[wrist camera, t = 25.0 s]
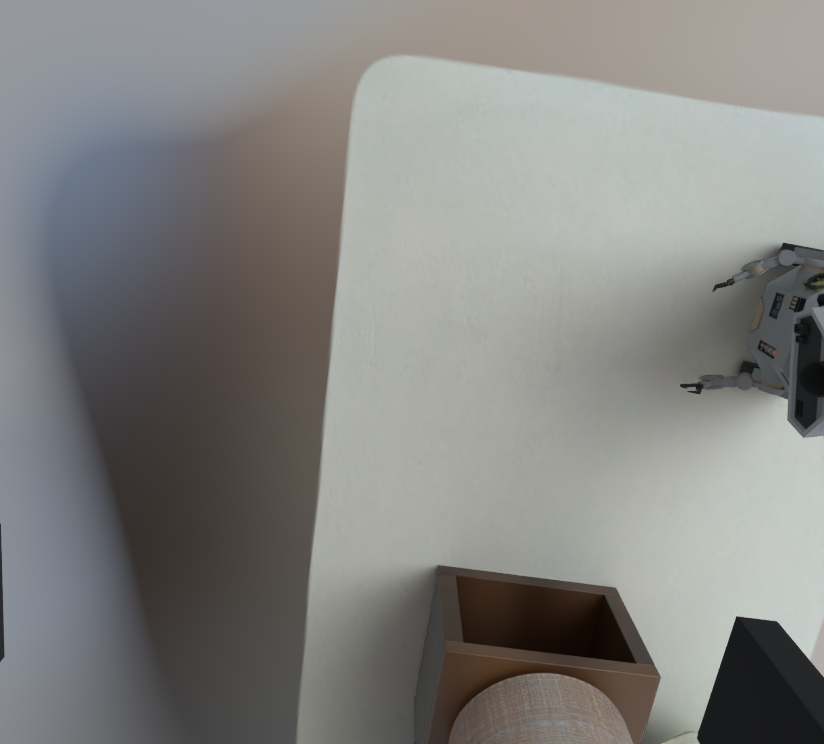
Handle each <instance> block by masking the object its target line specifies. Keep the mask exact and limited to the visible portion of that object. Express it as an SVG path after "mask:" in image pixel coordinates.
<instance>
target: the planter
mask: <svg viewBox="0 0 824 744" xmlns="http://www.w3.org/2000/svg"><path fill="white" fill-rule="evenodd" d="M449 744H633V742H632V739H631V736H630V734H629V731H628V728H627V726H626V723H625V721H624V719H623V718H622V716H621V714H620V712H619V711H618V709H617V708H616V706H615V705H614V704H613V702H612V701H611V700H610V699H609V698H608V697H607V696H606V695H605V694H604V693H603V692H601V691H600V690H599V689H597V688H596V687H594V686H593V685H591V684H589V683H587V682H585V681H583V680H581V679H578V678H575V677H572V676H568V675H563V674H558V673H547V672H539V673H527V674H521V675H517V676H513V677H509V678H506V679H503V680H501V681H498V682H496V683H494V684H492V685H490V686H489V687H487V688H485V689H484V690H482V691H481V692H479V693H478V694H477V695H475V696H474V697H473V698H472V699H471V700H470V701H469V702H468V703H467V704H466V705H465V706H464V708H463V709H462V710H461V711H460V713H459V714H458V716H457V718H456V720H455V722H454V724H453V726H452V729H451V732H450V736H449Z"/></svg>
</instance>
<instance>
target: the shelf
mask: <svg viewBox="0 0 824 744" xmlns="http://www.w3.org/2000/svg"><path fill="white" fill-rule="evenodd" d="M539 672H547V673H558V674H563V675H568V676H572V677H575V678H578V679H581V680H583V681H585V682H587V683H589V684H591V685H593V686H594V687H596V688H597V689H599V690H600V691H601V692H603V693H604V694H605V695H606V696H607V697H608V698H609V699H610V700H611V701H612V702H613V704H614V705H615V706H616V708H617V709H618V711H619V712H620V714H621V716H622V718H623V719H624V721H625V723H626V726H627V728H628V731H629V734H630V736H631V739H632V742H633V744H641V741H642V738H643V735H644V731H645V728H646V725H647V722H648V718H649V715H650V712H651V708H652V705H653V702H654V698H655V695H656V692H657V688H658V685H659V682H660V678H661V677H660V675H659V673H658V671H657V669H656V667H655V664H654V662H653V660H652V659H651V657H650V655H649V653H648V651H647V649H646V647H645V645H644V643H643V641H642V639H641V637H640V635H639V633H638V631H637V629H636V627H635V625H634V623H633V621H632V619H631V617H630V615H629V613H628V611H627V609H626V607H625V605H624V603H623V601H622V599H621V597H620V595H619V593H618V591H617V589H616V588H612V587H604V586H596V585H588V584H580V583H572V582H564V581H557V580H549V579H541V578H533V577H525V576H517V575H509V574H502V573H494V572H486V571H478V570H470V569H462V568H454V567H446V566H438V571H437V577H436V582H435V588H434V593H433V599H432V604H431V610H430V616H429V621H428V627H427V632H426V638H425V643H424V649H423V655H422V660H421V666H420V671H419V677H418V682H417V688H416V693H415V699H414V744H449V736H450V732H451V729H452V726H453V724H454V722H455V720H456V718H457V716H458V714H459V713H460V711H461V710H462V709H463V708H464V706H465V705H466V704H467V703H468V702H469V701H470V700H471V699H472V698H473V697H474V696H475V695H477V694H478V693H479V692H481V691H482V690H484V689H485V688H487V687H489V686H490V685H492V684H494V683H496V682H498V681H501V680H503V679H506V678H509V677H513V676H517V675H521V674H527V673H539Z"/></svg>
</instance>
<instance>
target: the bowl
mask: <svg viewBox="0 0 824 744" xmlns="http://www.w3.org/2000/svg"><path fill="white" fill-rule="evenodd" d="M697 735H698V733H695V732H692V731H690V732H684V733H682V734H680V735H678V736H676V737H674V738H673V739H671V740H668V741H666V742H664V743H661V744H699V742H698V740H697Z"/></svg>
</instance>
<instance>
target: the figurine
mask: <svg viewBox="0 0 824 744" xmlns="http://www.w3.org/2000/svg"><path fill="white" fill-rule="evenodd" d="M780 264H782V265H784V266H790V265H794V266H797V267H795V268H793V269H792V270H790V271H788V272H786V273H785V274H783V275H781V276H779V277H778V278H776V279H774V280H772V281H771V282H769V283H767V284H766V287H765V290H764V293H763V296H762V297H760V300H759V303H758V306H757V309H756V312H755V315H754V318H753V321H752V324H751V328H750V331H749V332H751V333H750V336H749V339H748V342H747V345H746V346H747V347H748V349H749V351H750V352H751V354H752V356H753V357H754V359H755V361H756V362H757V363H753V362H747V361H743V363H742V366H741V369H740V372H739V375H738V377H735V376H727V377H724V376H722V375H705V376H701V377H699V379H700V380H702V381H699V382H698V383H695V384H680V386H681V387H683V388H686V389H688V388H687V387H696V390H697V391H687V392H691V393H696V394H700V393H701V391H702V389H721V388H724V387H735V386H738V388H740V389H742V390H747V389H749V388H751V386H753V387H756V388H758V389H759V390H761V391H764V392H767V393H770V394H774V395H778V396H780V397H783V398H785V399H788V418H787V420H788V421H789V422H790V423H791V425H792V426H793V427H794V428H795V429H796V430H797V431H798V432H799V433H800V434H801V436H802V437H803V438H805V437H815V436H824V250H819V249H814V248H809V247H803V246H798V245H793V244H787V243H783V245H782V247H781V250H780V252H779V253H778V255H777V256H776V257H771V258H768V259H766V260H764V261H763V260H757V261H754V262H751V263H749V264H747V265H745V266H743V267H742V268H741V271H742V272H740V273H738V274H735V275H733V276H732V278H731V279H729V280H727V282H725V283H721V284H717V285H715V286H714V289H713V292H714V291H715V290H716V289H717V288H722V287H726V286H730V285H733V284H734V283H736V282H738V281H740V280H742V279H744V278H745V279H750V278H754V277H757V276H759V275H761V274H763V273H765V272H766V271H767V269H770V268H774V267H776V266H778V265H780Z"/></svg>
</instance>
